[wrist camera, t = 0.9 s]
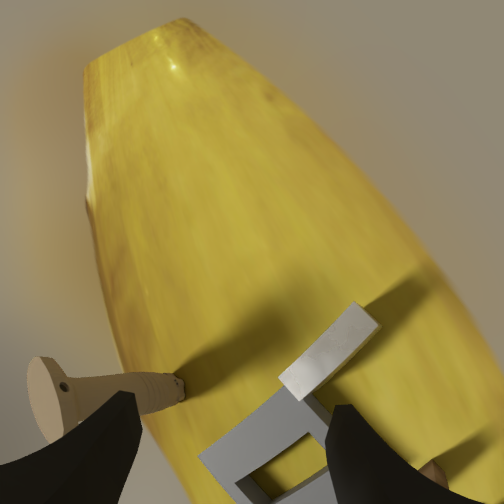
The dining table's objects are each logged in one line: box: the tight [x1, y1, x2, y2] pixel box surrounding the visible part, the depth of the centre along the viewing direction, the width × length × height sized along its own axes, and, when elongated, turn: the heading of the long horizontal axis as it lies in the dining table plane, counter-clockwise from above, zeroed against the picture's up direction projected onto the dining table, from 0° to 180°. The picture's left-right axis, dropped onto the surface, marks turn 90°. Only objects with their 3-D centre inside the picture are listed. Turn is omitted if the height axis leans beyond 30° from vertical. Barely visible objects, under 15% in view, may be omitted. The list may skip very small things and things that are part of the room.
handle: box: [27, 356, 185, 444], centre depth 23 cm, size 5×6×15 cm
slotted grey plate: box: [198, 385, 338, 504], centre depth 21 cm, size 12×11×2 cm
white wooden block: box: [278, 302, 383, 401], centre depth 21 cm, size 2×7×6 cm, turn 132°
